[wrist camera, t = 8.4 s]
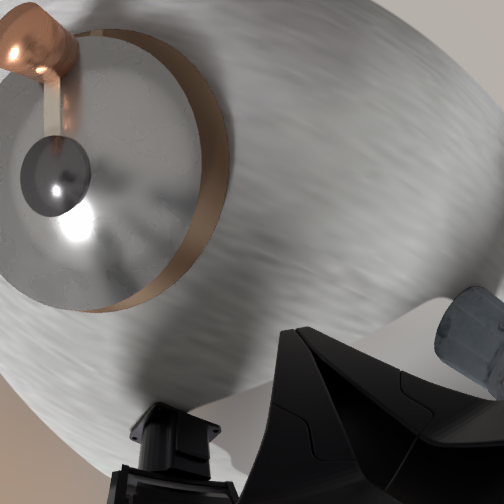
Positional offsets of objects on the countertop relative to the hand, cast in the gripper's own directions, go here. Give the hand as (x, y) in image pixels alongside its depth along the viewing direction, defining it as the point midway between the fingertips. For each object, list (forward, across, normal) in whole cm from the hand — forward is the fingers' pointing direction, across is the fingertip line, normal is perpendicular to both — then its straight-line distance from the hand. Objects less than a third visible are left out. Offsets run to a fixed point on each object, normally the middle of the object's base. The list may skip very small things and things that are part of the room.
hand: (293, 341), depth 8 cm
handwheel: (+10, +10, -6) cm, 15 cm away
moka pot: (+11, -23, +11) cm, 28 cm away
